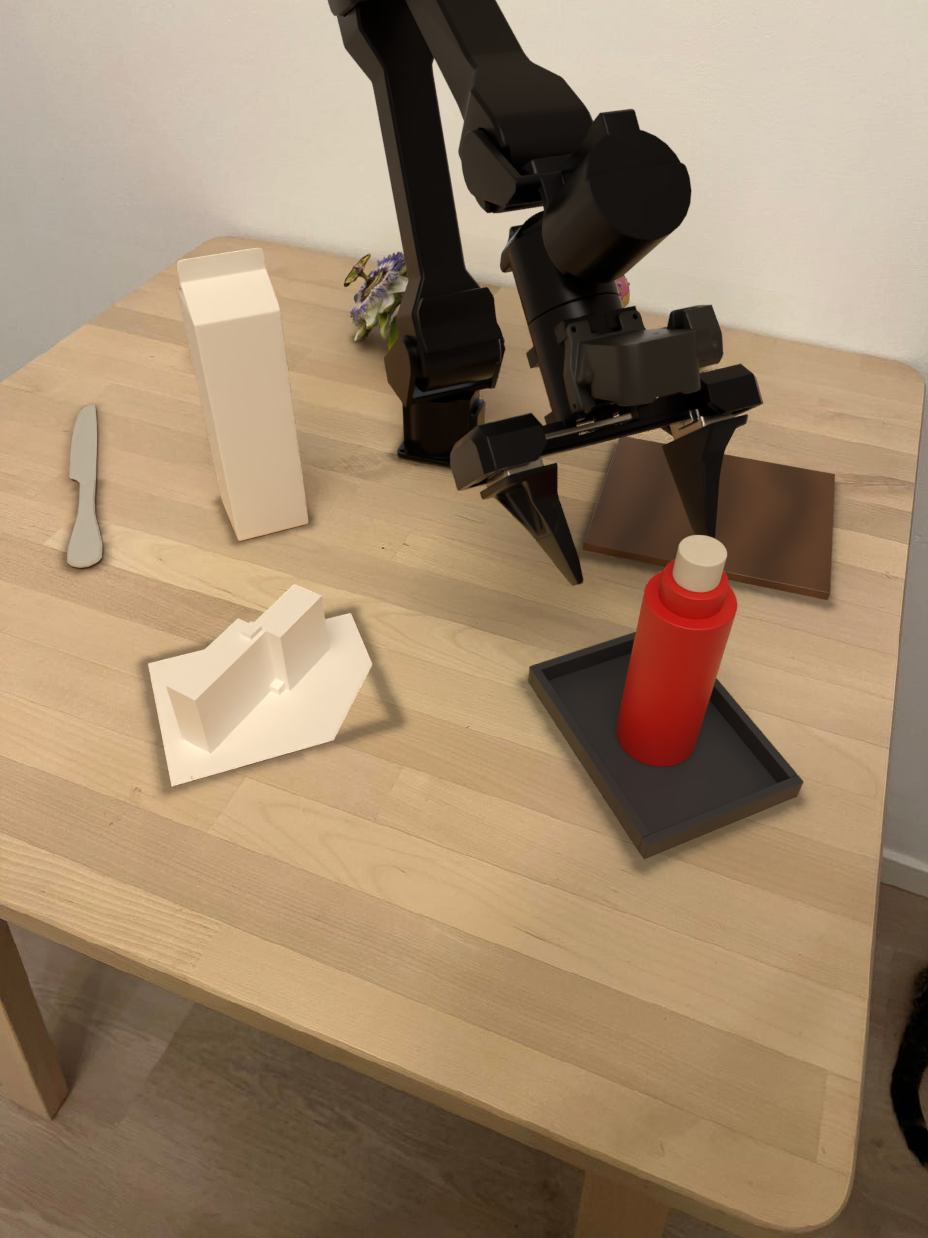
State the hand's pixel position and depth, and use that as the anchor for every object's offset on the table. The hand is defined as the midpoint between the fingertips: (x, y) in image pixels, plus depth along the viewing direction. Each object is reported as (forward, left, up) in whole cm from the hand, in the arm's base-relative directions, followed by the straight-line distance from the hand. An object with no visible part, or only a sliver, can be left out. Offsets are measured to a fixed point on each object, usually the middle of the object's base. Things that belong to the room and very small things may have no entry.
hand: (644, 564), depth 56 cm
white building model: (-23, -8, -12) cm, 27 cm away
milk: (-32, +10, -12) cm, 36 cm away
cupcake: (-13, +50, -12) cm, 54 cm away
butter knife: (-49, +10, -12) cm, 51 cm away
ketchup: (+3, -4, -11) cm, 12 cm away
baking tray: (+3, -4, -12) cm, 13 cm away
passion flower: (-31, +41, -12) cm, 53 cm away
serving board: (+4, +21, -12) cm, 25 cm away
